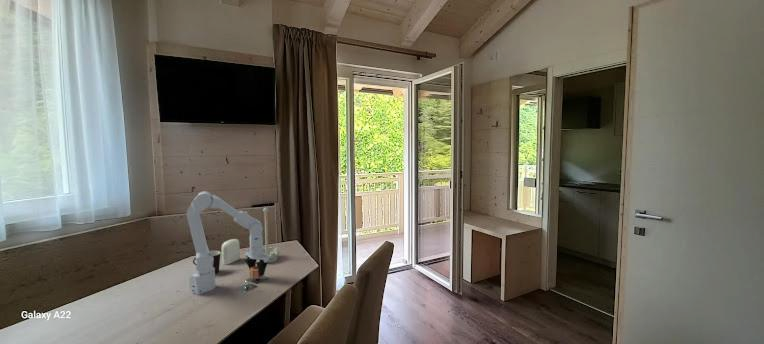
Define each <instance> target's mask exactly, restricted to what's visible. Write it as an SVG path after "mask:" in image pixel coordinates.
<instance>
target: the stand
mask: <svg viewBox="0 0 764 344" xmlns="http://www.w3.org/2000/svg"><path fill="white" fill-rule="evenodd" d="M258 287H259V286H258V285H257V284H254V283H251V282H249V281H248V280H247V279H245V280H244V284H243V285H241V286H238V287H236V288H235V290H237V291H238V292H243V293H244V294H245V293H247V292H250V291H252V290H254V289H257V288H258Z"/></svg>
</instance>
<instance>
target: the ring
mask: <svg viewBox="0 0 764 344" xmlns="http://www.w3.org/2000/svg"><path fill="white" fill-rule="evenodd" d="M263 276H265V274H264V275H263ZM263 276H259V270H258V266H257V265H256V266H253V267H251V268H250V270H249V278H252V279H257V278H261V277H263Z"/></svg>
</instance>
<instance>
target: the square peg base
mask: <svg viewBox="0 0 764 344" xmlns="http://www.w3.org/2000/svg"><path fill="white" fill-rule="evenodd" d="M268 279H269V277H268V276H265V275H264V276H263V277H261V278H257V279H252V278H250V277H249V278H247V279H246V280H248V281H249V283H250V284H253V285H257V284H260V283H262V282H265V281H266V280H268Z"/></svg>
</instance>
